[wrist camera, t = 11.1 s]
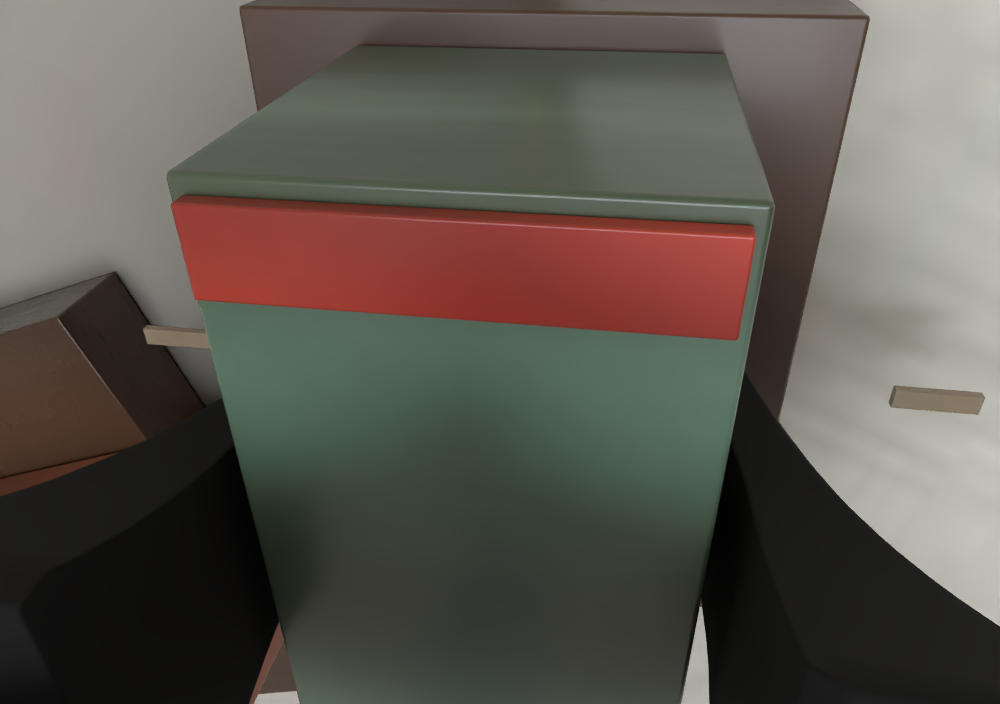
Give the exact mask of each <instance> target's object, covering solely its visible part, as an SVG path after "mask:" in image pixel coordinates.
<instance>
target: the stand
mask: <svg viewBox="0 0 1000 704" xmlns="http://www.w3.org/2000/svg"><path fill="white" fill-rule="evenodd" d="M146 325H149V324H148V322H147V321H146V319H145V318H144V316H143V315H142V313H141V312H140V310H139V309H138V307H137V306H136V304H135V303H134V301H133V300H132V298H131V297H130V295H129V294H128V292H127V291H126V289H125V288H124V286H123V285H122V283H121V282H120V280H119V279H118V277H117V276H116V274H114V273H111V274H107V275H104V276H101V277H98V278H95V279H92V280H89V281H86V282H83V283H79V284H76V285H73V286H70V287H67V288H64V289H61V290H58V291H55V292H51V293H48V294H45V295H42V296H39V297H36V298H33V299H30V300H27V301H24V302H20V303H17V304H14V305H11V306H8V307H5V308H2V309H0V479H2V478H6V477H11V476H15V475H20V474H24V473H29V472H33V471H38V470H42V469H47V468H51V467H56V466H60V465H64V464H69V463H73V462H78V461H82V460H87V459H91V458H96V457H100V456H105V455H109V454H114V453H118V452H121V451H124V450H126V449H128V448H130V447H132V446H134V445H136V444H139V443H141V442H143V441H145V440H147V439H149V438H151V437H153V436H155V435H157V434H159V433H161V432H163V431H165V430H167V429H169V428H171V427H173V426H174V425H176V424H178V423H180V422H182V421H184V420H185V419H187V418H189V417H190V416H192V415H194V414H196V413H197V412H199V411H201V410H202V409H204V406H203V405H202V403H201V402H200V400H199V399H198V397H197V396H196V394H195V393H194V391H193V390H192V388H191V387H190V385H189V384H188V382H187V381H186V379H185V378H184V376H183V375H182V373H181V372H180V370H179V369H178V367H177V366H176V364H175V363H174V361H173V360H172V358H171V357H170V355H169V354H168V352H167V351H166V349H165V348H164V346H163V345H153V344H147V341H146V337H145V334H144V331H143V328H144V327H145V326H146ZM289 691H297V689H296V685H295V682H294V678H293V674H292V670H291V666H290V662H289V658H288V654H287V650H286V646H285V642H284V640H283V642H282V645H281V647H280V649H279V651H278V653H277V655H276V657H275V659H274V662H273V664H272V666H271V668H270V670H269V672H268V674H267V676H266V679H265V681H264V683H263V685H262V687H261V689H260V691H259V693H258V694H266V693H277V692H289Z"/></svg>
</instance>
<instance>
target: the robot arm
mask: <svg viewBox="0 0 1000 704" xmlns="http://www.w3.org/2000/svg"><path fill="white" fill-rule="evenodd" d="M701 602H702V609H703V617H704V625H705V632H706V641H707V653H708V665H709V702H710V704H1000V626H998V625H997V624H995V623H994V622H992V621H991V620H989V619H988V618H986V617H985V616H983V615H982V614H980V613H979V612H977V611H976V610H974V609H973V608H972V607H970V606H969V605H967V604H966V603H964V602H963V601H961V600H960V599H958V598H957V597H956V596H954V595H953V594H952V593H950V592H949V591H947V590H946V589H945V588H943V587H942V586H941V585H939V584H938V583H937V582H935V581H934V580H933V579H931V578H930V577H929V576H927V575H926V574H925V573H924V572H922V571H921V570H920V569H919V568H918V567H916V566H915V565H914V564H913V563H911V562H910V561H909V560H908V559H906V558H905V557H904V556H903V555H901V554H900V553H899V552H898V551H896V550H895V549H894V548H893V547H892V546H891V545H889V544H888V543H887V542H886V541H885V540H884V539H883V538H881V537H880V536H879V535H878V534H877V533H876V532H875V531H874V530H873V529H872V528H871V527H870V526H869V525H868V524H866V523H865V522H864V521H863V520H862V519H861V518H860V517H859V516H858V515H857V514H856V513H855V512H854V511H853V510H852V509H851V508H850V507H849V506H848V505H847V504H846V503H845V502H844V501H843V500H842V499H841V498H840V497H839V496H838V495H837V494H836V493H835V491H834V490H833V489H832V488H831V487H830V486H829V485H828V483H827V482H826V481H825V480H824V479H823V478H822V477H821V476H820V474H819V473H818V472H817V471H816V470H815V468H814V467H813V466H812V465H811V464H810V462H809V461H808V460H807V459H806V457H805V456H804V455H803V453H802V452H801V451H800V449H799V448H798V447H797V446H796V444H795V443H794V442H793V440H792V439H791V438H790V436H789V435H788V434H787V432H786V431H785V430H784V428H783V427H782V426H781V424H780V423H779V421H778V420H777V418H776V417H775V416H774V414H773V413H772V411H771V410H770V408H769V407H768V405H767V404H766V402H765V401H764V399H763V398H762V396H761V395H760V393H759V392H758V390H757V388H756V387H755V385H754V384H753V382H752V381H751V379H750V378H749V377H748V375H747V374H746V373H745V372H744V375H743V380H742V385H741V390H740V396H739V401H738V406H737V411H736V417H735V422H734V427H733V433H732V438H731V443H730V448H729V454H728V459H727V464H726V470H725V475H724V480H723V485H722V491H721V496H720V501H719V507H718V512H717V517H716V522H715V528H714V533H713V538H712V544H711V549H710V554H709V559H708V565H707V570H706V575H705V581H704V586H703V591H702V596H701ZM278 623H279V618H278V615H277V611H276V607H275V603H274V599H273V595H272V591H271V587H270V583H269V579H268V575H267V571H266V567H265V563H264V559H263V555H262V552H261V548H260V544H259V540H258V536H257V532H256V528H255V524H254V520H253V516H252V512H251V508H250V504H249V500H248V496H247V492H246V488H245V485H244V481H243V477H242V473H241V469H240V465H239V461H238V457H237V453H236V449H235V445H234V441H233V437H232V433H231V429H230V425H229V421H228V418H227V414H226V410H225V406H224V402H223V398H221V399H219V400H218V401H216V402H214V403H213V404H211V405H209V406H207V407H206V408H204V409H202V410H201V411H199V412H197V413H196V414H194V415H192V416H190V417H189V418H187V419H185V420H184V421H182V422H180V423H178V424H176V425H174V426H173V427H171V428H169V429H167V430H165V431H163V432H161V433H159V434H157V435H155V436H153V437H151V438H149V439H147V440H145V441H143V442H141V443H139V444H136V445H134V446H132V447H130V448H128V449H126V450H124V451H121V452H119V453H117V454H115V455H112V456H110V457H107V458H105V459H102V460H100V461H97V462H95V463H92V464H90V465H87V466H85V467H82V468H80V469H77V470H75V471H72V472H70V473H67V474H65V475H62V476H60V477H57V478H54V479H51V480H49V481H46V482H43V483H40V484H37V485H34V486H31V487H28V488H25V489H22V490H19V491H15V492H12V493H9V494H6V495H3V496H0V704H249V702H250V700H251V697H252V694H253V691H254V688H255V685H256V683H257V680H258V677H259V674H260V671H261V668H262V666H263V663H264V660H265V657H266V654H267V652H268V649H269V647H270V644H271V641H272V639H273V636H274V633H275V631H276V628H277V626H278Z"/></svg>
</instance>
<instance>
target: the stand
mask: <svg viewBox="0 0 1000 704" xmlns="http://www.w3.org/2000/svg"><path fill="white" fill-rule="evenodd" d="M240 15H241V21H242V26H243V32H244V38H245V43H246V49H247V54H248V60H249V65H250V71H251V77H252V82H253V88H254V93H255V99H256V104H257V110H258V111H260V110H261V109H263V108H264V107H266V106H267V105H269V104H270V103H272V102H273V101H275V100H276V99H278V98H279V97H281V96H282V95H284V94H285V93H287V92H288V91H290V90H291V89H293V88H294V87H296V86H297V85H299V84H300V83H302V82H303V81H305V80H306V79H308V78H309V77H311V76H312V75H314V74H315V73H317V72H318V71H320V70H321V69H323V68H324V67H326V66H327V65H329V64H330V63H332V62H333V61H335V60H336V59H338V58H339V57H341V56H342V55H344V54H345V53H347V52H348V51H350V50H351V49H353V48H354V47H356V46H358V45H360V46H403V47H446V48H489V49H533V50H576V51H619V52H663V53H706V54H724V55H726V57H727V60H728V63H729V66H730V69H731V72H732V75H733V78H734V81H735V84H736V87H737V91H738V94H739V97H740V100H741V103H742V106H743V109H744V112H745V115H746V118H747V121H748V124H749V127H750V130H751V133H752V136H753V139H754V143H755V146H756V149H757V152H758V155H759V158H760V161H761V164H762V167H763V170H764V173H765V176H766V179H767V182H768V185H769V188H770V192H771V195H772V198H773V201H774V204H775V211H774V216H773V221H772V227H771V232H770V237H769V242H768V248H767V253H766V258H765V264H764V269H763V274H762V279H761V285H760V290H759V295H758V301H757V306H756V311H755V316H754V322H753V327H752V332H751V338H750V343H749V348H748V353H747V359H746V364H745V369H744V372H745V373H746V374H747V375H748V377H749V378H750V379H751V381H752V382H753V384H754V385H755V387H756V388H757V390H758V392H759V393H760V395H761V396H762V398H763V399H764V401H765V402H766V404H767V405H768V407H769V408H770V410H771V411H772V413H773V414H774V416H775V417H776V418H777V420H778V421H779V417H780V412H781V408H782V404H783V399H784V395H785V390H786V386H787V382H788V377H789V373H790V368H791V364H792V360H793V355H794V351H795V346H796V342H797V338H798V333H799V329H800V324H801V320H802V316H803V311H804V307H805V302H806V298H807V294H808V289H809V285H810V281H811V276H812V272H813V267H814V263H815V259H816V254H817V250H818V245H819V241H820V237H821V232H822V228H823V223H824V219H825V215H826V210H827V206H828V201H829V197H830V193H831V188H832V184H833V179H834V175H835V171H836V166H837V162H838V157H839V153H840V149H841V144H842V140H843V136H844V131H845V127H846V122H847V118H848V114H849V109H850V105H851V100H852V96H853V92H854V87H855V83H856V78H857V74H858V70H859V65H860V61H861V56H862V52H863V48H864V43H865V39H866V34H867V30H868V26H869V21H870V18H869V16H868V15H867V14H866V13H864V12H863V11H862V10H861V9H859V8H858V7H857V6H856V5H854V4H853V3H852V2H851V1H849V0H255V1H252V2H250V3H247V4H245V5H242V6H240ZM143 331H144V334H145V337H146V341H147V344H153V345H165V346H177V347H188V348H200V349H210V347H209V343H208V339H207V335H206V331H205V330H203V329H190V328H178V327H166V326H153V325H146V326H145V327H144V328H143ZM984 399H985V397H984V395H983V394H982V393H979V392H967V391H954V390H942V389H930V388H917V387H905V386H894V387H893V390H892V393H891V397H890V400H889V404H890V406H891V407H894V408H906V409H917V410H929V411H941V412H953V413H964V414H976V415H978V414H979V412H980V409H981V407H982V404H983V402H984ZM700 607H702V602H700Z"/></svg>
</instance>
